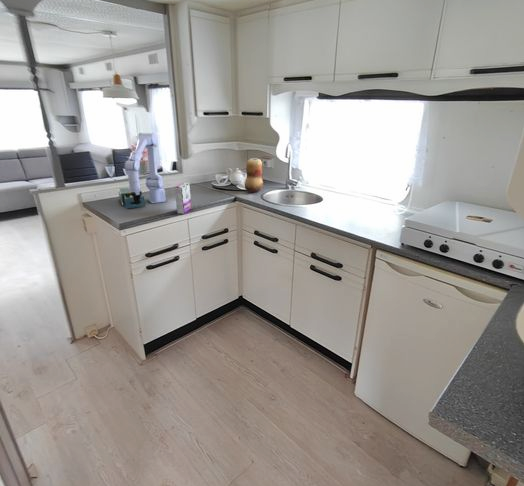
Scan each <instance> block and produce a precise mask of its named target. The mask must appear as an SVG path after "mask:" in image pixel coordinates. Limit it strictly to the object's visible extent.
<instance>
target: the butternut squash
mask: <svg viewBox="0 0 524 486" xmlns="http://www.w3.org/2000/svg"><path fill="white" fill-rule="evenodd" d="M245 171H246V172H245V173H246V178H245V181H244V189H245V190H246V192H248V193H253V194H255V193H259V192H260V191H261V190H262V189H263V187H264V181H263V178H262V175H263V162H262V160H261V159H259V158H257V157H255V158H254V157H251V158H249V159H248V160H247V161H246V166H245Z"/></svg>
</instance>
